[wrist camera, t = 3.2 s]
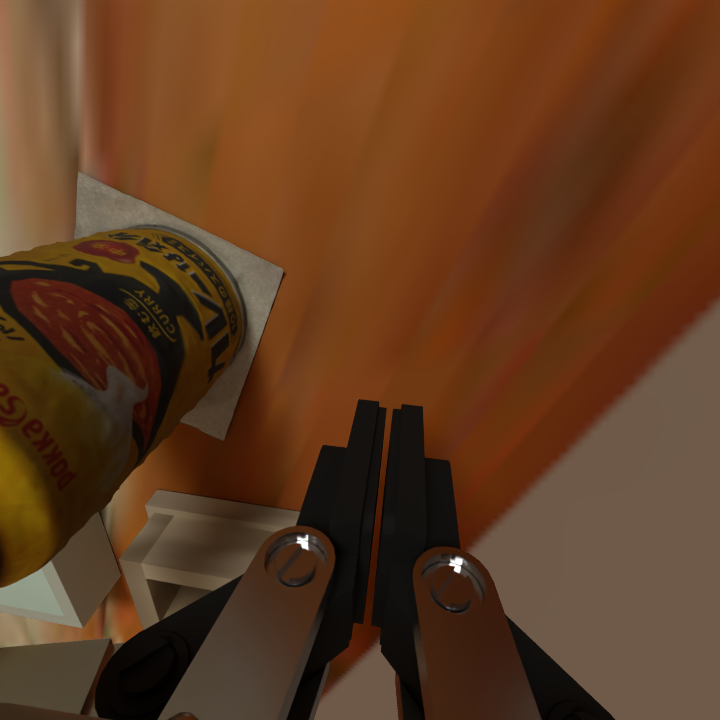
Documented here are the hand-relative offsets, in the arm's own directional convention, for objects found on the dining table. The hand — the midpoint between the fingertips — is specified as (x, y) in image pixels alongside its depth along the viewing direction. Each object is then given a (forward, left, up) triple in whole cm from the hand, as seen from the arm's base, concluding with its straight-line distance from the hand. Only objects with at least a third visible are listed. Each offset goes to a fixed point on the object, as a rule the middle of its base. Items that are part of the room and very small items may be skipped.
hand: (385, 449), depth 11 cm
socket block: (+7, +12, -5) cm, 15 cm away
